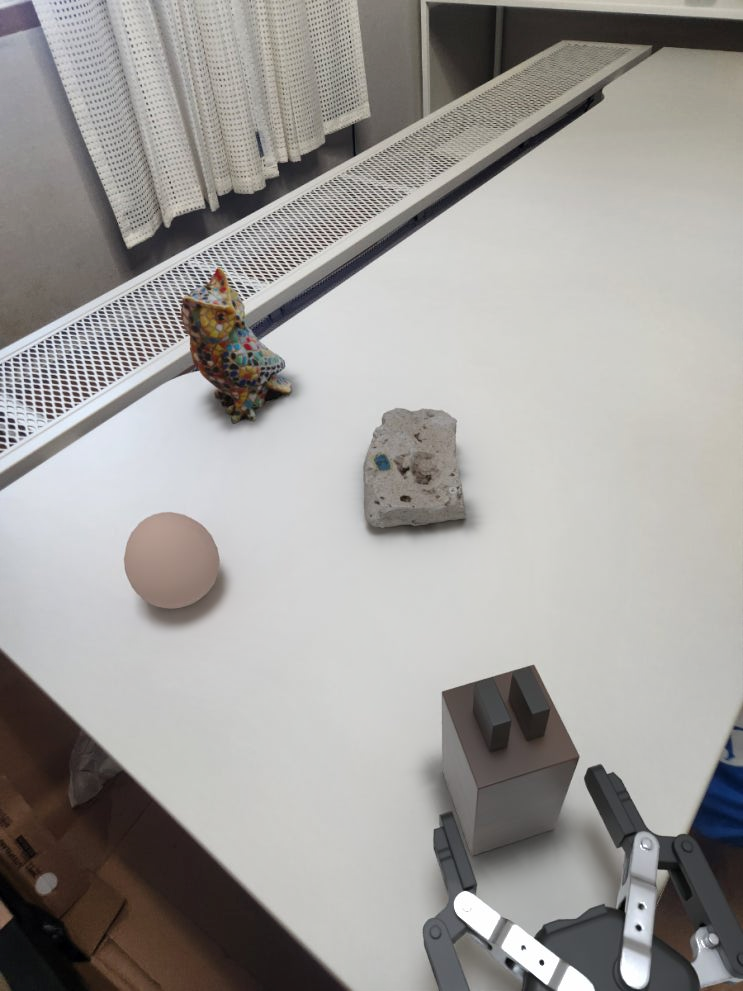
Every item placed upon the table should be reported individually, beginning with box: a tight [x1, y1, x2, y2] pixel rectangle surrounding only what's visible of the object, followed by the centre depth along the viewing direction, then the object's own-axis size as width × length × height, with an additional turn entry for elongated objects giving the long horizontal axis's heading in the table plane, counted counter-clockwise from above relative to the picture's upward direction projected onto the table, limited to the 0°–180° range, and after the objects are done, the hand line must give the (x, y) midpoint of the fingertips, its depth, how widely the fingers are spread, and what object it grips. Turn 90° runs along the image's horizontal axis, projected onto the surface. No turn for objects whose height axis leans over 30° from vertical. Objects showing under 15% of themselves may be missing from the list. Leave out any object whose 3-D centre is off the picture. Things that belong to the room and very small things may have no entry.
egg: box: [123, 511, 221, 609], centre depth 53 cm, size 7×7×8 cm
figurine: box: [180, 267, 292, 424], centre depth 68 cm, size 9×9×15 cm
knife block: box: [441, 664, 581, 857], centre depth 38 cm, size 5×5×14 cm
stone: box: [362, 407, 467, 529], centre depth 61 cm, size 13×6×10 cm
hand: (518, 793), depth 37 cm, fingers open, 8 cm apart
